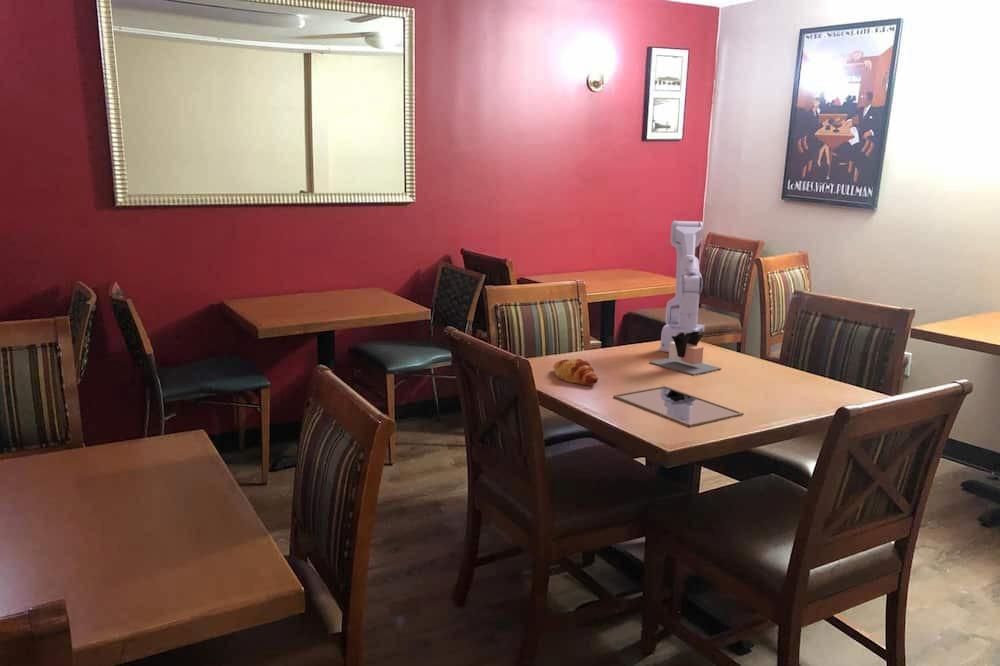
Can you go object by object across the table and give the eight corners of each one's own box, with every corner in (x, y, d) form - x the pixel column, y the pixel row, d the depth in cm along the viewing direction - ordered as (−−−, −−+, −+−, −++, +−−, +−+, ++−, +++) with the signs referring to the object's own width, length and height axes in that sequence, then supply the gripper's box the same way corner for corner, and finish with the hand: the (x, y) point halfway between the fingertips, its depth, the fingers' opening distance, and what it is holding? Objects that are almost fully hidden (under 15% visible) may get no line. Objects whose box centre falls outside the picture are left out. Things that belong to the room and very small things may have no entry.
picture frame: (743, 416, 198) (664, 389, 221) (743, 413, 198) (664, 386, 221) (689, 429, 188) (613, 398, 211) (690, 425, 188) (613, 395, 210)
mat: (649, 363, 248) (649, 361, 248) (676, 357, 256) (676, 356, 256) (694, 375, 234) (694, 374, 234) (721, 369, 242) (721, 368, 242)
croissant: (547, 383, 236) (537, 361, 233) (571, 364, 240) (562, 343, 237) (588, 400, 218) (578, 377, 215) (614, 380, 222) (604, 357, 219)
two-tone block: (693, 364, 239) (694, 348, 238) (668, 357, 247) (669, 342, 246) (702, 362, 242) (703, 347, 241) (677, 356, 250) (678, 341, 248)
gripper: (683, 317, 234) (680, 361, 237) (713, 313, 242) (710, 355, 245) (665, 314, 239) (662, 356, 242) (695, 309, 248) (692, 351, 251)
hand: (685, 355), depth 244 cm, fingers closed on two-tone block, 4 cm apart
